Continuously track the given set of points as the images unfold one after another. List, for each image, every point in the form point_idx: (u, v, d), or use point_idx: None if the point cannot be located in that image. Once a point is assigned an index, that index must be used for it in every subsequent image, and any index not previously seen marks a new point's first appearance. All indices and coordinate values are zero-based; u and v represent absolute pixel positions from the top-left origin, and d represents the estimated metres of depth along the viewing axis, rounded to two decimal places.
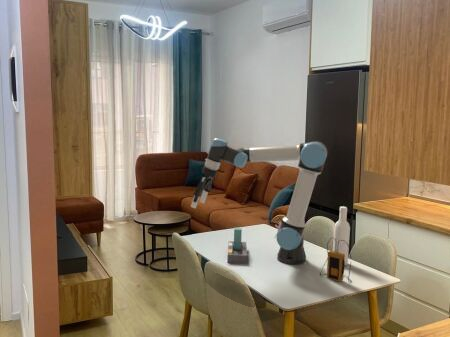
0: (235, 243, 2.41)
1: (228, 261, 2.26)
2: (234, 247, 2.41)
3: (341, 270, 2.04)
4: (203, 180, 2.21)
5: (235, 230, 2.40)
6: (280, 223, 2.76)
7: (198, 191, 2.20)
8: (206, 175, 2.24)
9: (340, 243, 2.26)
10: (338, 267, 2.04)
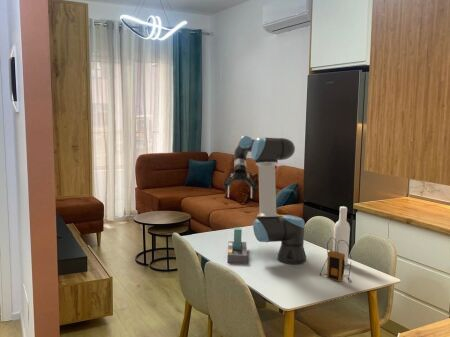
0: (235, 243, 2.41)
1: (228, 261, 2.26)
2: (234, 247, 2.41)
3: (341, 270, 2.04)
4: None
5: (235, 230, 2.40)
6: None
7: None
8: (234, 172, 2.69)
9: (340, 243, 2.26)
10: (338, 267, 2.04)
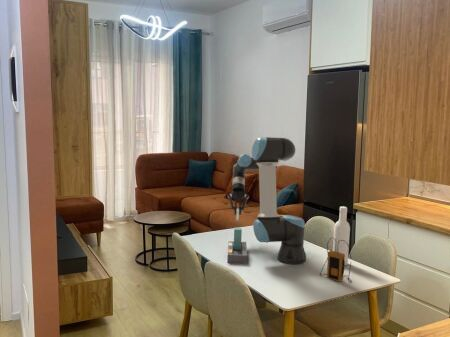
0: (235, 243, 2.41)
1: (228, 261, 2.26)
2: (234, 247, 2.41)
3: (341, 270, 2.04)
4: (228, 196, 2.63)
5: (235, 230, 2.40)
6: None
7: (231, 205, 2.60)
8: None
9: (340, 243, 2.26)
10: (338, 267, 2.04)
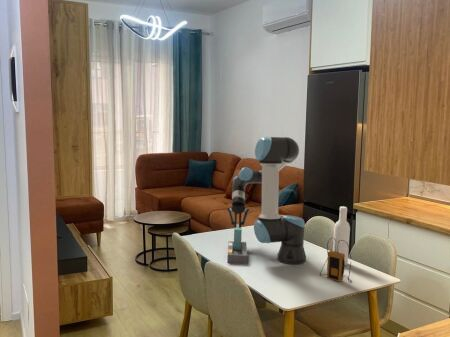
0: (235, 243, 2.41)
1: (228, 261, 2.26)
2: (234, 247, 2.41)
3: (341, 270, 2.04)
4: (228, 211, 2.55)
5: (235, 230, 2.40)
6: None
7: (230, 220, 2.51)
8: None
9: (340, 243, 2.26)
10: (338, 267, 2.04)
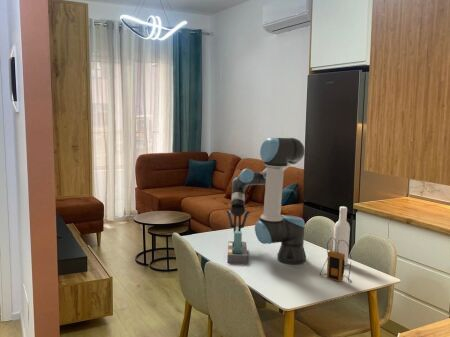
0: (235, 247, 2.34)
1: (228, 261, 2.26)
2: (234, 251, 2.34)
3: (341, 270, 2.04)
4: (227, 213, 2.48)
5: (235, 233, 2.33)
6: None
7: None
8: None
9: (340, 243, 2.26)
10: (338, 267, 2.04)
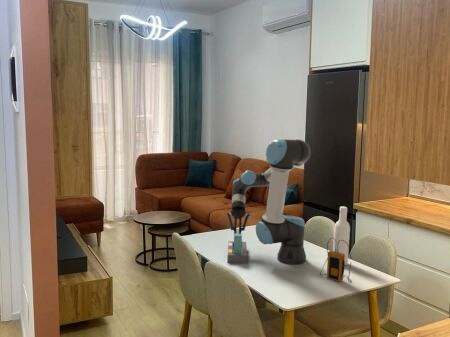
0: (235, 250, 2.29)
1: (228, 261, 2.26)
2: None
3: (341, 270, 2.04)
4: (227, 216, 2.43)
5: (235, 236, 2.28)
6: None
7: (230, 225, 2.39)
8: None
9: (340, 243, 2.26)
10: (338, 267, 2.04)
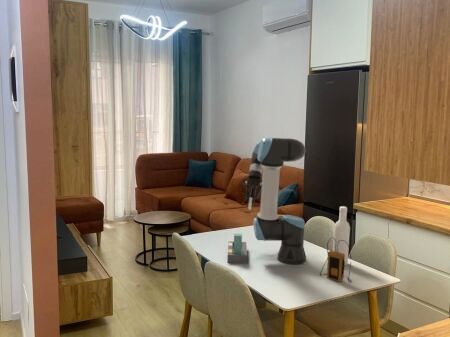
0: (235, 250, 2.29)
1: (228, 261, 2.26)
2: None
3: (341, 270, 2.04)
4: (243, 184, 2.61)
5: (235, 236, 2.28)
6: None
7: (245, 193, 2.58)
8: None
9: (340, 243, 2.26)
10: (338, 267, 2.04)
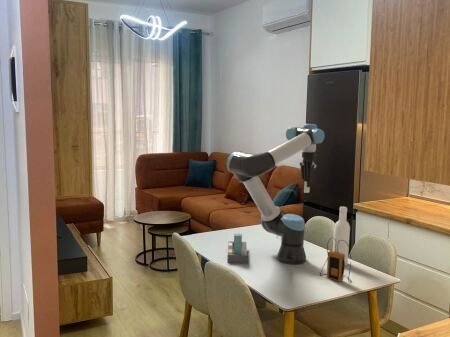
0: (235, 250, 2.29)
1: (228, 261, 2.26)
2: None
3: (341, 270, 2.04)
4: None
5: (235, 236, 2.28)
6: None
7: None
8: None
9: (340, 243, 2.26)
10: (338, 267, 2.04)
